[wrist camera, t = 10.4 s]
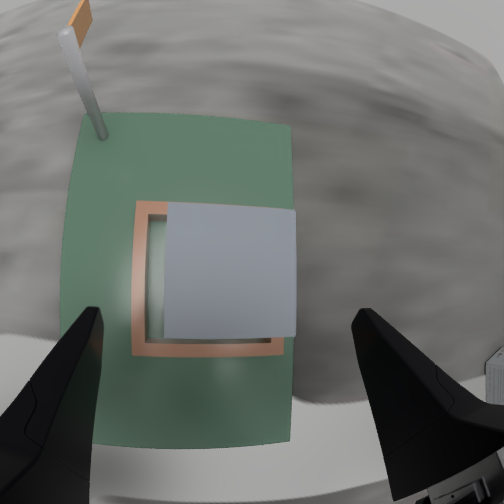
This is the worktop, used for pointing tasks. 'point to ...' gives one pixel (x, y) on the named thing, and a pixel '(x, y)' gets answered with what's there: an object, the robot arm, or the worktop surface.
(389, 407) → the robot arm
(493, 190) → the worktop surface
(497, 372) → the skincare box
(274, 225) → the grey block
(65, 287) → the green base plate
